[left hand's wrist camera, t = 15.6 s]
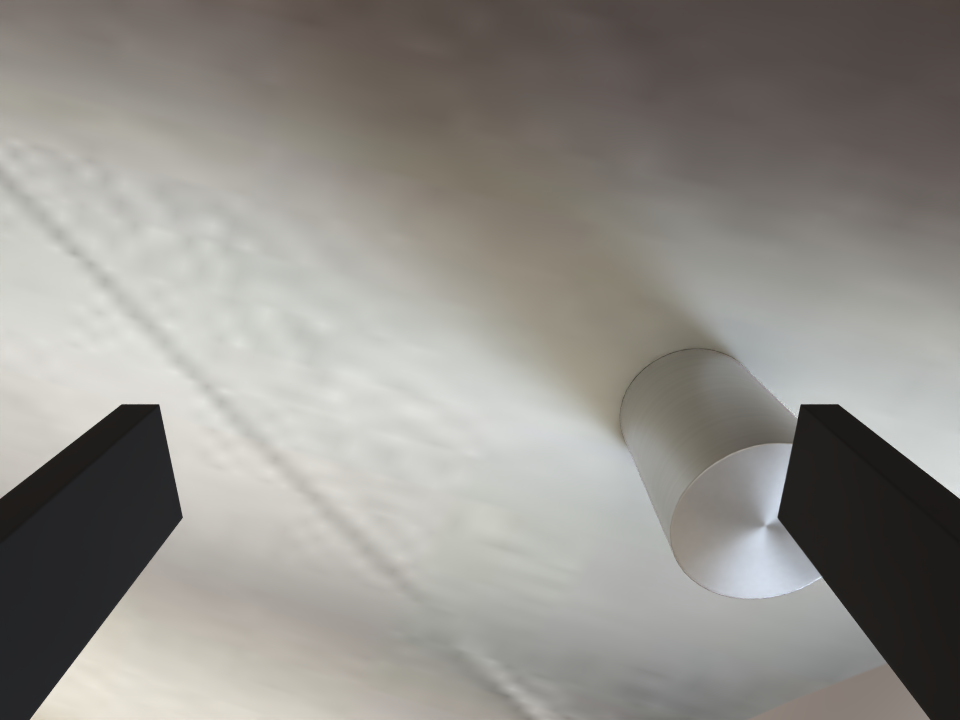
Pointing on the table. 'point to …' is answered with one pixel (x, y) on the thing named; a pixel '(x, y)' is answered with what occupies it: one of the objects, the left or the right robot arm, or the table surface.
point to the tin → (716, 471)
